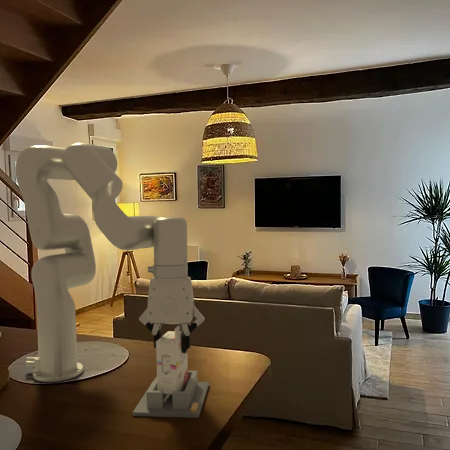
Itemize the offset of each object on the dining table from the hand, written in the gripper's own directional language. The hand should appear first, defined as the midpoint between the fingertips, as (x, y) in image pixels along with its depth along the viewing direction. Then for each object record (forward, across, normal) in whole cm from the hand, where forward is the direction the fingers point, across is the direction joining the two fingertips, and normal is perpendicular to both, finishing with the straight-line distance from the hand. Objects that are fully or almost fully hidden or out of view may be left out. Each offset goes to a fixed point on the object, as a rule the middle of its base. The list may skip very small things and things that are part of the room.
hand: (172, 350), depth 103 cm
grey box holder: (+11, 0, 0) cm, 11 cm away
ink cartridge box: (+9, 0, 0) cm, 9 cm away
